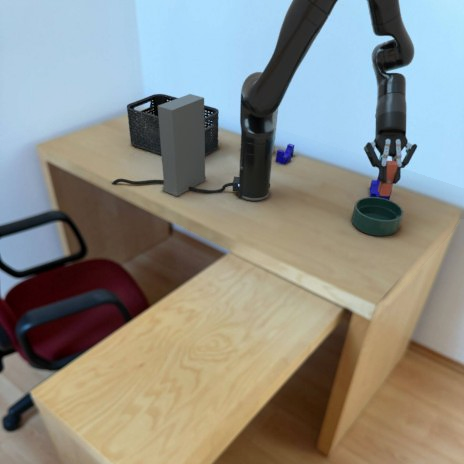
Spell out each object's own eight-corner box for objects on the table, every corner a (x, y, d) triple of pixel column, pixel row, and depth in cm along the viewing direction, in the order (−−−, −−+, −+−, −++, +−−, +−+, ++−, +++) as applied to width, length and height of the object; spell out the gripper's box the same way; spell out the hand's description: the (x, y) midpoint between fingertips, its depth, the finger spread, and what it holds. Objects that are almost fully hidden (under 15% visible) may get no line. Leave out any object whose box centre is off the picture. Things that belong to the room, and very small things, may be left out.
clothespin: (380, 196, 116) (389, 165, 110) (377, 189, 119) (385, 159, 113) (389, 196, 116) (398, 165, 110) (386, 190, 119) (395, 160, 113)
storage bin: (222, 146, 160) (222, 108, 151) (190, 165, 148) (189, 125, 139) (160, 129, 171) (157, 92, 161) (126, 145, 158) (121, 106, 149)
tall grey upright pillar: (190, 175, 143) (188, 93, 126) (205, 180, 140) (204, 97, 123) (162, 191, 134) (154, 105, 117) (177, 197, 132) (172, 110, 115)
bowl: (355, 236, 119) (360, 220, 116) (347, 211, 129) (351, 196, 125) (403, 237, 119) (409, 222, 116) (391, 213, 129) (396, 197, 125)
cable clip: (369, 188, 140) (374, 170, 136) (384, 190, 139) (389, 172, 135) (370, 207, 131) (375, 188, 127) (386, 209, 130) (391, 190, 126)
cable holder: (284, 164, 151) (285, 153, 148) (275, 161, 152) (276, 150, 149) (296, 157, 155) (298, 146, 153) (288, 154, 157) (289, 143, 154)
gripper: (368, 108, 110) (367, 176, 109) (423, 110, 110) (422, 178, 109) (359, 122, 117) (358, 186, 117) (411, 124, 117) (410, 188, 117)
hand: (389, 182), depth 113 cm, fingers closed on clothespin, 2 cm apart
